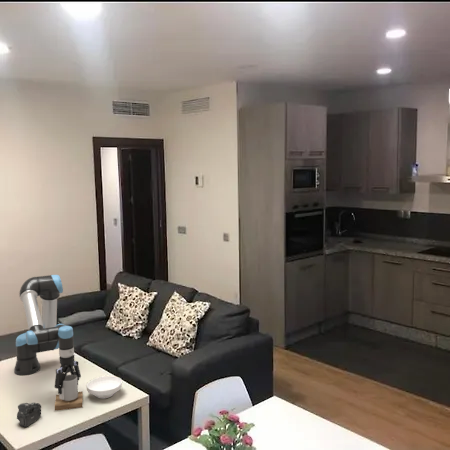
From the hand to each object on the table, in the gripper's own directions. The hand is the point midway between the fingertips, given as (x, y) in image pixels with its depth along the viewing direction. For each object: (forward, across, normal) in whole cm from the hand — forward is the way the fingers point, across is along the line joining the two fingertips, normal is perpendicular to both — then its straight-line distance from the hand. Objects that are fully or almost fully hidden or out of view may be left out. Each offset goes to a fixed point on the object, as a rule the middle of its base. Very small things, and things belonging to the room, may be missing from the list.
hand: (68, 395), depth 261 cm
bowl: (+5, +16, -11) cm, 20 cm away
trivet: (+4, 0, 0) cm, 4 cm away
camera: (+5, -24, +3) cm, 24 cm away
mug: (+1, +1, 0) cm, 1 cm away
